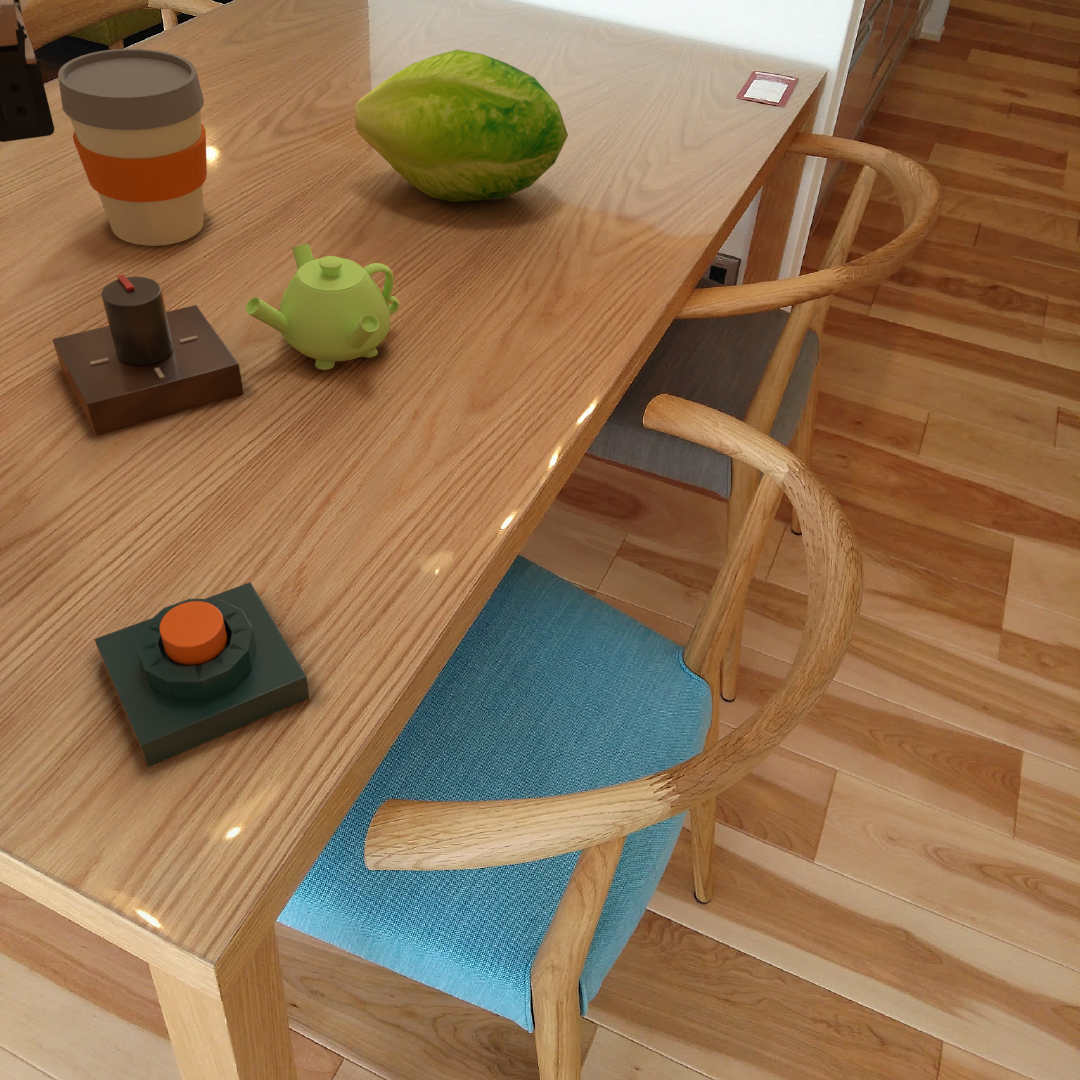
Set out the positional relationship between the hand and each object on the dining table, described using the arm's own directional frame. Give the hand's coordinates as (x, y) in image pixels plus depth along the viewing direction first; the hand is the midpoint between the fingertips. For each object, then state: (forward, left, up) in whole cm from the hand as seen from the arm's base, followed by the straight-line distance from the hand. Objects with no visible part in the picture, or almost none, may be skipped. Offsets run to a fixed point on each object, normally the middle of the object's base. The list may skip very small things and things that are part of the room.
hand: (4, 106), depth 60 cm
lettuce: (+47, +27, -26) cm, 60 cm away
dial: (+6, +7, -23) cm, 25 cm away
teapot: (+21, +5, -26) cm, 34 cm away
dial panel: (+6, +7, -26) cm, 28 cm away
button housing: (-1, -25, -26) cm, 36 cm away
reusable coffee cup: (+15, +33, -26) cm, 45 cm away
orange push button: (-1, -25, -22) cm, 34 cm away
